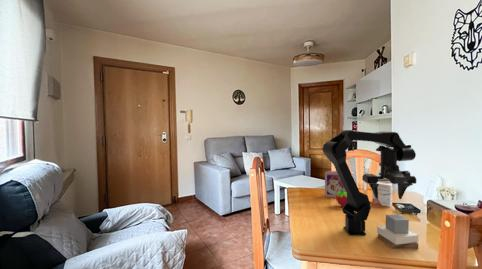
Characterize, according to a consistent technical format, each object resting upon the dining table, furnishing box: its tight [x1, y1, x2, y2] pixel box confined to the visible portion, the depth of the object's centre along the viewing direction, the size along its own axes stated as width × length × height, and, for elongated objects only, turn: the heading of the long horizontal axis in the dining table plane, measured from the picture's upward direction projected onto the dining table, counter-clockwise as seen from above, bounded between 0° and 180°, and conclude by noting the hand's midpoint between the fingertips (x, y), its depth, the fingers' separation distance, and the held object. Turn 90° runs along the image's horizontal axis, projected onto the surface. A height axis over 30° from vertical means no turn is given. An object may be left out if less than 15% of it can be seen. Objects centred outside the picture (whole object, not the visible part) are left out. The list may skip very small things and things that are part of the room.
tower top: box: [376, 224, 419, 245], centre depth 86 cm, size 9×9×2 cm
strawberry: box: [335, 188, 347, 207], centre depth 122 cm, size 6×7×10 cm
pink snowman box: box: [324, 170, 346, 198], centre depth 140 cm, size 11×7×15 cm, turn 67°
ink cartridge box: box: [371, 178, 393, 208], centre depth 124 cm, size 9×5×15 cm, turn 47°
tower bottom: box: [377, 233, 419, 250], centre depth 86 cm, size 9×9×2 cm
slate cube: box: [385, 213, 410, 234], centre depth 86 cm, size 5×5×5 cm
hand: (388, 198), depth 97 cm, fingers open, 9 cm apart
